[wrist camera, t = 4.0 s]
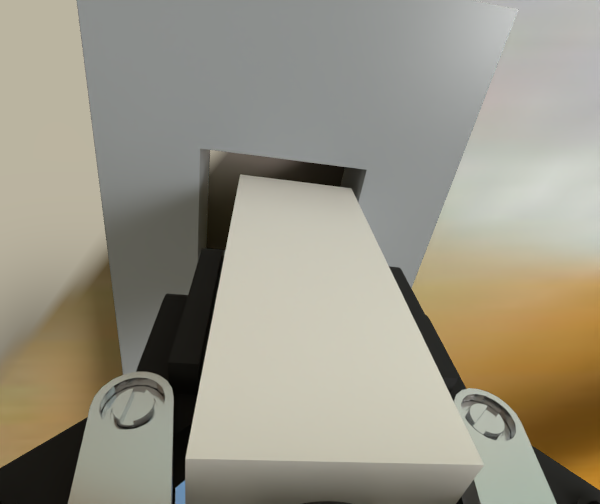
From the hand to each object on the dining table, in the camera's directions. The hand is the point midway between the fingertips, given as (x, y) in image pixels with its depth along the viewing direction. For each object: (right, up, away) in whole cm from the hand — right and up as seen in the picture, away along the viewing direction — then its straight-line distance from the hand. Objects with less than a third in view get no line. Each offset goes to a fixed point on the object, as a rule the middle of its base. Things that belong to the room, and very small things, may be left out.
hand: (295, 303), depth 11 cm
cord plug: (0, +2, +4) cm, 4 cm away
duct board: (-2, -4, +10) cm, 11 cm away
